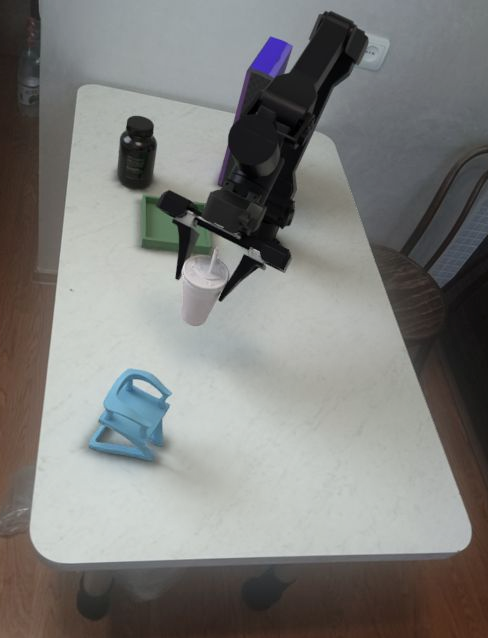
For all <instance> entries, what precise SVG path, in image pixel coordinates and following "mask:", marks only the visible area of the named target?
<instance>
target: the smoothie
mask: <svg viewBox="0 0 488 638" xmlns="http://www.w3.org/2000/svg"><path fill="white" fill-rule="evenodd" d="M219 251H220V247H215V248H214V249H213V254H212V255H210V254H209V255H204V254H194V255H191V257H190V258H188V259H187V260H186V261H185V263H184V265H183V268H182V276H181V278H182V281H183V282H182V283H183V284H182V299H181V301H182V303H181V318H182V320H183V322H184V323H185V324H187V325H189V326H191V327H201V326H202V325H204V324H205V323H206V321H207V319H208V318H209V316H210V314H211V312H212V310H213V308H214V306H215V304H216V302H217V301H218V299H219V297H220V295H221V292H222V290H223V289H224V287H225V285H226V284H227V282H228V281H229V279H230V270H229V268H228V267H227V265H226V264H225V263H224V261H222V260H220V259H219V258H218V256H219Z"/></svg>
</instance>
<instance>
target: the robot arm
mask: <svg viewBox="0 0 488 638" xmlns="http://www.w3.org/2000/svg"><path fill="white" fill-rule="evenodd" d="M308 40H309V42H308V43H307V45H306V46H305V47H304V50H303V51H302V53H301V54H300V56H299V57H298V58H297V60H296V62H295V63H294V65H293V66H292V68H291V69H290V70H289V72H285V74H282V75H278V76H275V77H274V78H273V80H272V81H271V82H270V83H269V85H268V86H267V87H266V88H265V90H261V91H260V92H259V93H258V94H257V96H256V97H255V98H254V99H253V101H252V102H251V103H250V104H249V106H248V107H247V108H246V110H245V111H244V112H243V113H242V115H241V118H240V119H239V120H237V121H236V122H235V124H233V123H232V125H231V127H230V129H229V131H228V134H227V135H228V136H227V145H228V146H229V149H230V152H231V154H232V156H233V159H234V161H235V165H234V167H233V169H232V171H231V174H230V175H229V178H227V179H226V181H225V183H224V185H223V187H222V186H221V187H220V188H219V189H215V190H212V191H210V192H209V194H208V197H207V200H206V202H205V203H206V205H205V207H204V210H203V213H202V212H200V211H198V207H197V206H196V205H195V204H194V203H193V202H194V201H193V200H191V199H189V198H186V197H185V196H182V195H180V194H178V193H177V192H175V191H173V190H171V189H168V190H165V191H164V192H163V193H162V194H161V195H160V196H159V197H160V199H159V201H158V203H157V205H156V207H157V208H158V209H160V210H161V211H162V212H164V213H165V214H167V215H169V216H171V217H173V218H175V219H172V223H173V224H175V225H176V226H177V227H178V234H179V251H177V259H176V260H177V261H176V269H175V276H174V278H175V280H177V281H180V280H181V278H182V268H183V265H184V263H185V261H186V260H187V259H188V258H190V257H192V254H193V253H192V252H193V249H194V247H195V245H196V242H197V240H198V237H199V235H200V234H199V233H198V232H196V229H197V228H198V227H199V226H200V227H202V228H204V229H206V230H208V231H210V233H212V234H214V235H217V236H219V237H221V238H222V239H225V240H226V241H229V242H231V243H233V244H234V245H237V246H239V247H241V248H243V249H244V250H246V251H247V253H248V254H245V253H243V255H242V257H241V259H240V260H239V263H238V264H237V266H236V268H235V270H234V271H233V273H232V275H231V276H230V277H229V280H228V282H227V284H226V285H225V287H224V289H223V290H222V291H221V293H220V295H219V297H218V299H217V301H218V302H223V301H224V300H225V299H226V298H227V297H228V296H229V295H230V294H231V293H232V292H233V291H234V290H235V289H236V288H237V287H238V286H239V285H240V284H241V283H242V282H243V281H244V280H245V279H247V278H248V277H249V276H250V275H252V274H253V273H254V272H255V271H257V270H258V269H260V270H262V271H266V269H267V266H269V267H271V268H273V269H275V270H276V271H279V272H281V273H283V274H285V273H286V272H287V270H288V268H289V266H290V263H291V261H292V259H293V257H292V252H291V249H290V248H287V247H285V246H283V245H281V242H280V240H279V239H277V235H278V233H279V230H284V229H285V228H286V227H291V224H292V222H293V220H294V217H295V213H296V200H295V196H296V194H297V190H298V186H297V185H298V184H297V176H296V175H297V170H298V167H299V165H300V163H301V161H302V160H303V157H304V155H305V152H306V150H307V148H308V146H309V143H310V142H311V139H312V137H313V135H314V133H315V131H316V129H317V127H318V124H319V121H320V119H321V117H322V115H323V113H324V111H325V108H326V106H327V105H328V102H329V100H330V97H331V95H332V93H333V91H334V89H335V88H336V87H337V86H338V85H340V84H341V83H342V82H344V81H346V80H347V79H348V78H349V77H350V76H351V74H352V73H353V70H354V68H355V66H359V65H360V64H361V62H362V61H363V58H364V56H365V54H366V52H367V49H368V47H369V44H370V43H369V37H368V35H367V34H366V31H365V30H363V29H361V28H359V27H358V25H357V24H355V22H354V20H352V19H350V18H348V17H345V16H343V15H341V14H340V13H337V12H335V11H333V10H330V11H328V10H325V11H323V13H318V15H317V17H316V20H315V23H314V25H313V27H312V30H311V33H310V35H309V37H308ZM192 201H193V202H192Z"/></svg>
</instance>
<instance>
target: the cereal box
mask: <svg viewBox="0 0 488 638" xmlns="http://www.w3.org/2000/svg"><path fill="white" fill-rule="evenodd" d="M293 48H294V45H293V44H291V43H289V42H287V41H285V40H283V39H280V38H277V37H274V36H269V37H268V39H267V40H266V42H265V43H264V45H263V46H262V48H261V49H260V51H259V52H258V53H257V55H256V56H255V58H254V59H253V61H252V62H251V64H250V65H249V67H248V68H247V70H246V72H245V76H244V80H243V84H242V87H241V91H240V96H239V100H238V103H237V106H236V111H235V115H234V118H233V123H232V125H233V124H235V122H236V121H237V120H239V119H240V118H241V115H242V113H243V112H244V111H245V110H246V108H247V107H248V106H249V104H250V103H251V102H252V101H253V99H254V98H255V97H256V96H257V94H258V93H259V92H260V91H261V90H265V88H266V87H267V86H268V85H269V83H270V82H271V81H272V80H273V78H274V77H275V76H278V75H282V74H286V71H287V67H288V63H289V61H290V57H291V54H292V51H293ZM222 161H223V162H222V165H221V168H220V169H221V170H220V173H219V176H218V179H217V180H218V181H217V184H216V185H217V186H220V187H221V188H222V187H223V185H224V183H225V181H226V179H227V178H229V175H230V174H231V171H232V169H233V167H234V165H235V161H234V159H233V156H232V154H231V152H230V149H229V146H228V144H227V146H226V149H225V153H224V157H223V160H222Z"/></svg>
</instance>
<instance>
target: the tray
mask: <svg viewBox="0 0 488 638" xmlns="http://www.w3.org/2000/svg"><path fill="white" fill-rule="evenodd" d="M159 199H160V196H157V195H151V194H145V193H143V194H142V196H141V213H140V214H141V225H140V227H141V228H140V229H141V231H140V248H145V249H153V250H161V251H168V252H169V251H170V252H178V251H179V234H178V227H177V226H176V225H175V224H173V223H172V219H175V218H173V217H171V216H169V215H167V214H165V213H164V212H162V211H161V210H160V209H158V208H157V207H156V205H157V203H158V201H159ZM191 201H192V202H193V203H194V204H195V205H196V206H197V207H198V211H200V212H202V213H203V210H204V207H205V205H206V202H200V201H193V200H191ZM196 232H198V233H199V234H200V235H199V237H198V240H197V242H196V245H195V247H194V249H193V252H192V254H194V255H201V254H203V255H210V253H211V250H212V241H211V239H212V238H211V232H210V231H208V230H206V229H204V228H202V227H200V226H199V227H198V228H197V229H196Z"/></svg>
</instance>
